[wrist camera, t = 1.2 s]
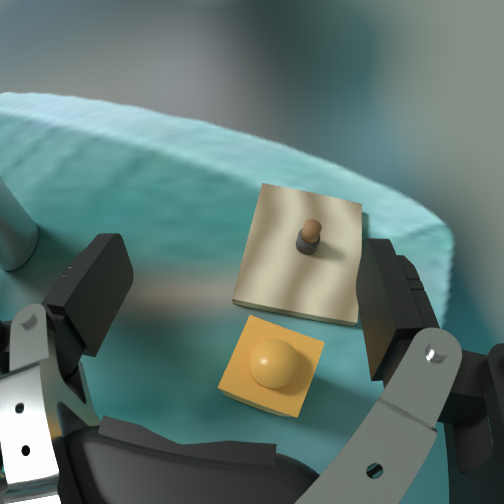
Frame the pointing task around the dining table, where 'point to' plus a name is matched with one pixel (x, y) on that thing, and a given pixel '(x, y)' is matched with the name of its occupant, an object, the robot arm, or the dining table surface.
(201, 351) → the dining table surface
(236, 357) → the tall orange toy brick
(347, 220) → the beige board with knob
